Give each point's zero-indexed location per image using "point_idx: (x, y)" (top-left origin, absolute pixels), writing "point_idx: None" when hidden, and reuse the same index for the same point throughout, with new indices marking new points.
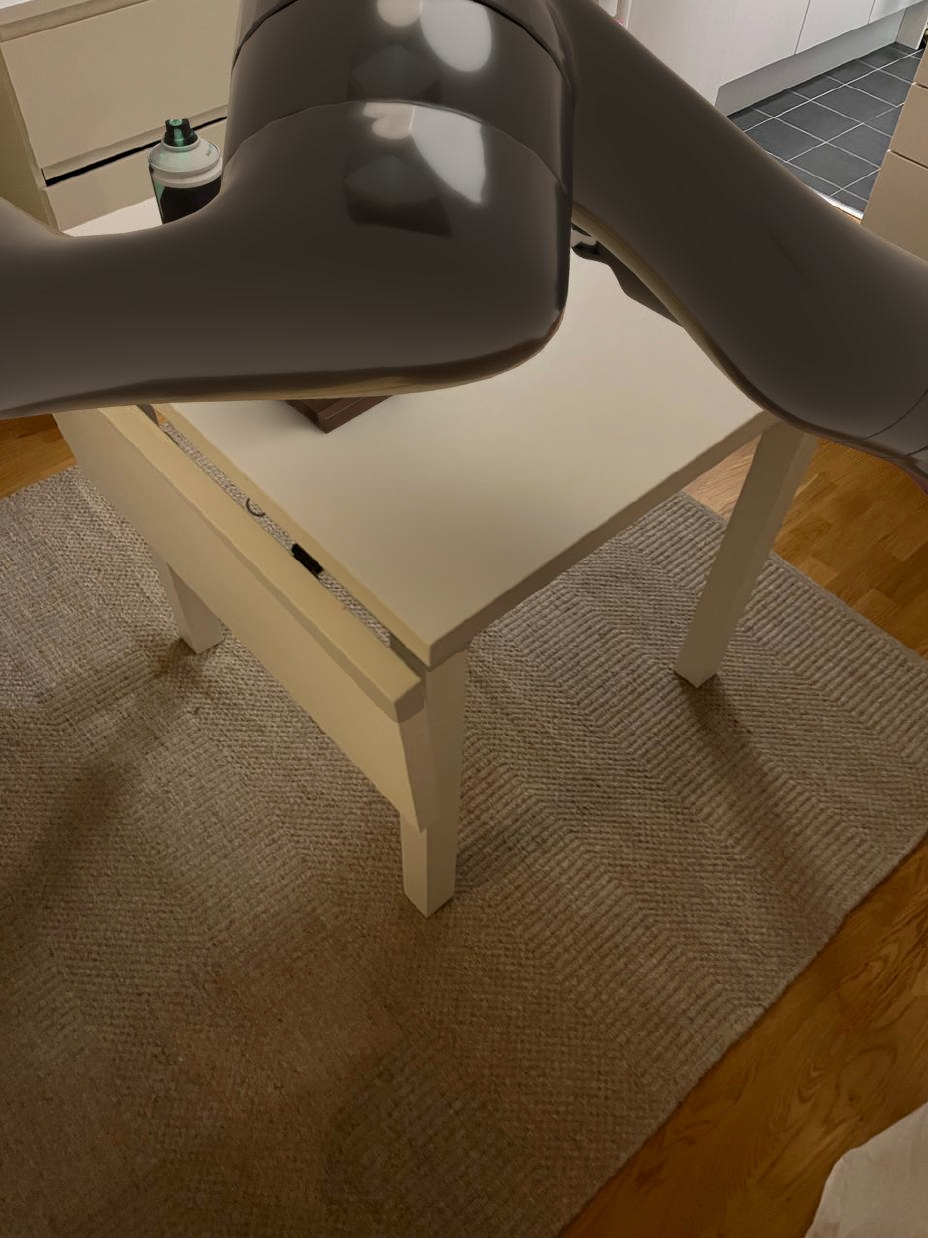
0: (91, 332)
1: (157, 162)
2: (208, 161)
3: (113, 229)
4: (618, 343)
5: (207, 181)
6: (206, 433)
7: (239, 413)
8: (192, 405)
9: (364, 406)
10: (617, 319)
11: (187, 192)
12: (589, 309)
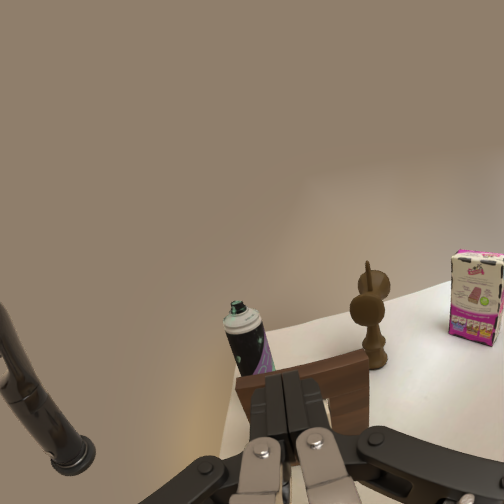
0: None
1: (225, 319)
2: (244, 323)
3: (278, 331)
4: (475, 450)
5: (241, 332)
6: (222, 441)
7: (243, 438)
8: (231, 424)
9: (297, 463)
10: (482, 429)
11: (231, 336)
12: (470, 420)
